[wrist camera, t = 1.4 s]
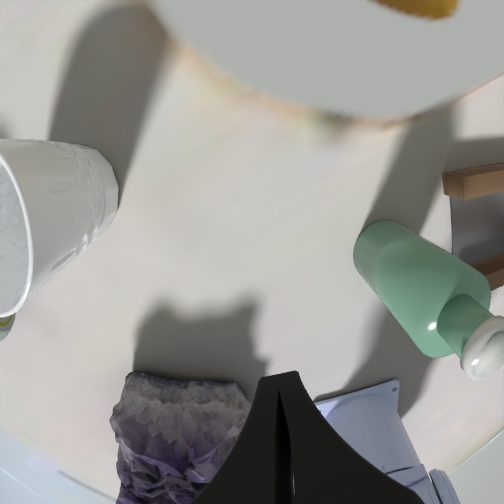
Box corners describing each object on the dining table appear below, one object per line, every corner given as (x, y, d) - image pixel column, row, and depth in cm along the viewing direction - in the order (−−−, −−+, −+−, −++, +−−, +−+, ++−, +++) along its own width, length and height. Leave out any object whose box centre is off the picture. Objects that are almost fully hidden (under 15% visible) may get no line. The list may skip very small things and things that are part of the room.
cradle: (522, 257, 20) (539, 267, 17) (446, 288, 21) (463, 302, 18) (522, 160, 17) (542, 163, 15) (441, 173, 18) (462, 177, 15)
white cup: (92, 112, 16) (-17, 98, 7) (150, 211, 19) (66, 268, 9) (22, 181, 18) (-79, 211, 8) (71, 268, 20) (-13, 339, 10)
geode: (211, 486, 29) (192, 550, 20) (124, 450, 29) (91, 509, 20) (281, 389, 22) (269, 498, 13) (144, 333, 23) (77, 420, 13)
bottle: (411, 273, 20) (516, 372, 9) (357, 288, 20) (440, 413, 9) (407, 213, 19) (538, 285, 7) (348, 227, 19) (456, 325, 8)
